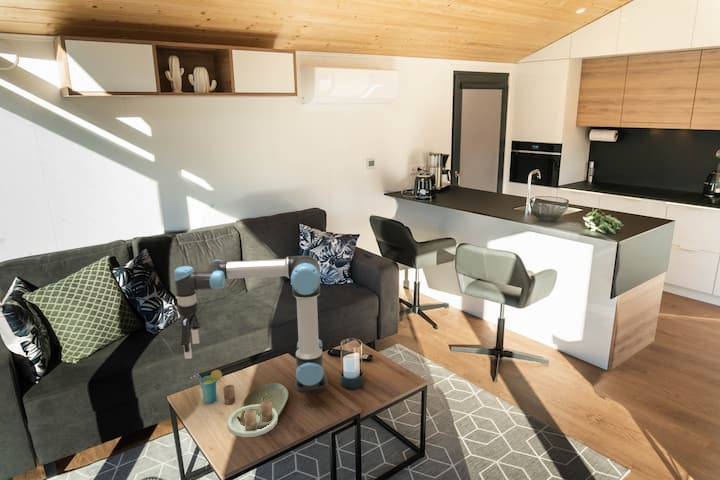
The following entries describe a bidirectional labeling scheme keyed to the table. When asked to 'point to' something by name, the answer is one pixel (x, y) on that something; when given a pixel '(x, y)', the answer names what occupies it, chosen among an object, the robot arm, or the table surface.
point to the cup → (209, 385)
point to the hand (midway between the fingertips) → (192, 350)
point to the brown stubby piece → (229, 394)
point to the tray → (240, 429)
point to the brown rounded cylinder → (266, 411)
